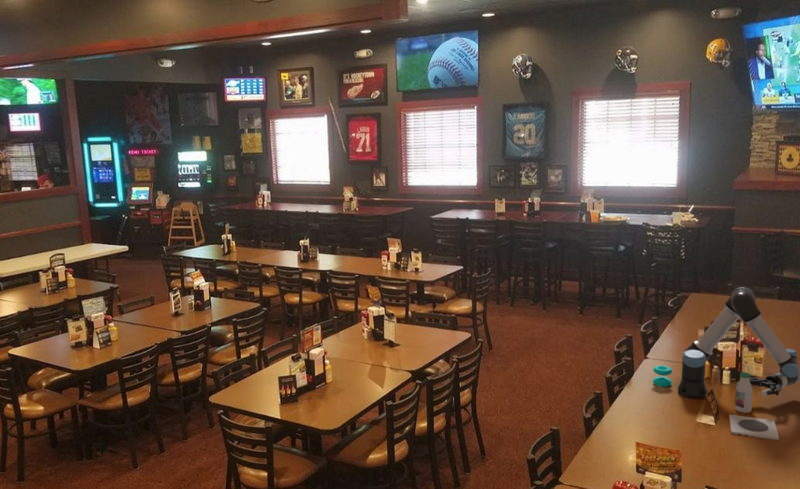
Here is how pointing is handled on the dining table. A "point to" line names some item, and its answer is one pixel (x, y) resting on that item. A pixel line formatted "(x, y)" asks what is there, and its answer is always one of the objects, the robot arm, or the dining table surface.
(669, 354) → the dining table surface
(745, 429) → the board
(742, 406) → the milk bottle
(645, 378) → the dining table surface
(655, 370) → the donuts
